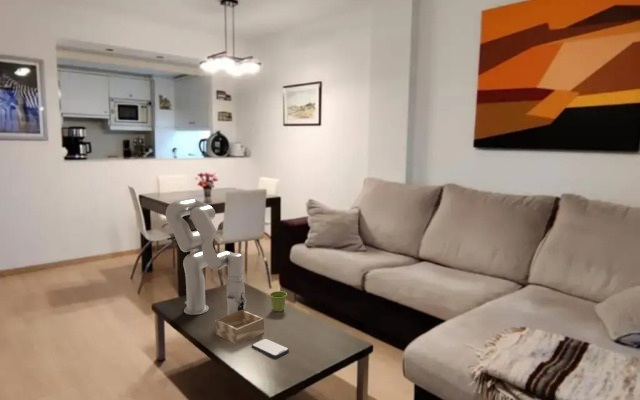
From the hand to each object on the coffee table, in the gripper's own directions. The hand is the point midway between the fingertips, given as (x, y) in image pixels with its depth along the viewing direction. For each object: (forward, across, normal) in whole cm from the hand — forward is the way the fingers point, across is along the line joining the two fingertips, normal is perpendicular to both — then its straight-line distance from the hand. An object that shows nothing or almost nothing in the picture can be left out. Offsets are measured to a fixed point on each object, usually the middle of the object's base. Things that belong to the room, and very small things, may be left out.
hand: (236, 311), depth 216 cm
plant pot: (+4, +9, +22) cm, 24 cm away
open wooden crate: (+4, +15, -10) cm, 19 cm away
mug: (+4, 0, 0) cm, 4 cm away
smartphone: (+4, +37, -11) cm, 39 cm away
